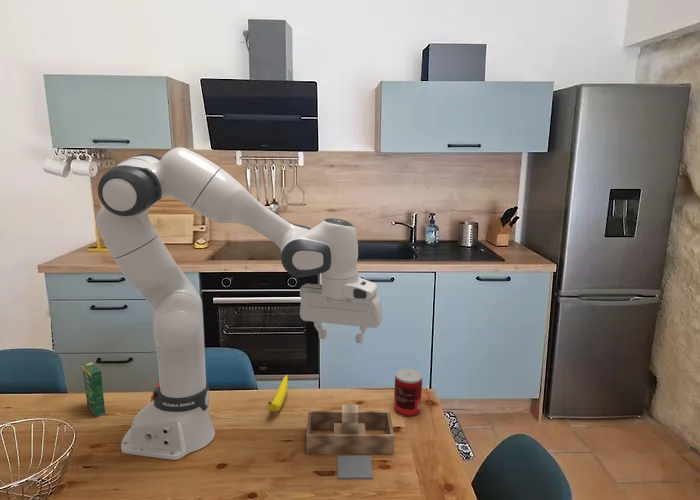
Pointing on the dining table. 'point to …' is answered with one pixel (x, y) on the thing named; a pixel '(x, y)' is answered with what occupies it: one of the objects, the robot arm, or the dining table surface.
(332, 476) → the dining table surface
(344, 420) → the block
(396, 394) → the canned food
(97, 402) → the coffee box
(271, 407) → the banana
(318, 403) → the dining table surface
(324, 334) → the robot arm
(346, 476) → the mat
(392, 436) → the crate
